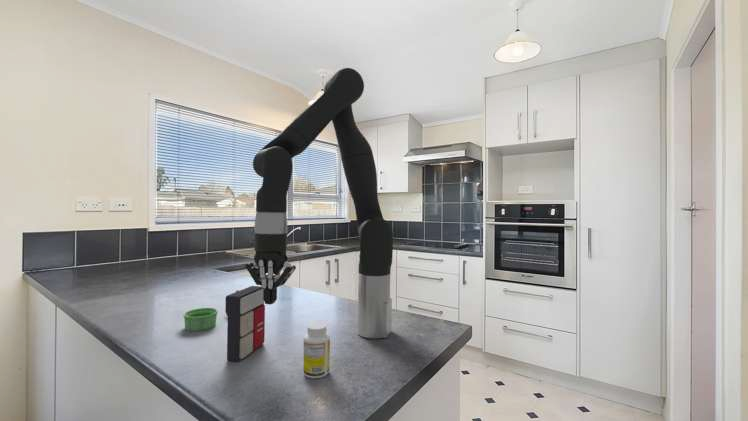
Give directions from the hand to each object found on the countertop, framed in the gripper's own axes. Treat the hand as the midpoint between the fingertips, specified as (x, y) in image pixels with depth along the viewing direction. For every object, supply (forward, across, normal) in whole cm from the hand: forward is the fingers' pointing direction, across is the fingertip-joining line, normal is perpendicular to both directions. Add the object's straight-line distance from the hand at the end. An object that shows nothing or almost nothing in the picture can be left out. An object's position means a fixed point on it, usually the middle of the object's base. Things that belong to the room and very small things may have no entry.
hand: (269, 303), depth 78 cm
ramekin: (+13, +30, -10) cm, 35 cm away
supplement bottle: (+13, -15, +4) cm, 20 cm away
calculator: (+13, +6, 0) cm, 14 cm away
